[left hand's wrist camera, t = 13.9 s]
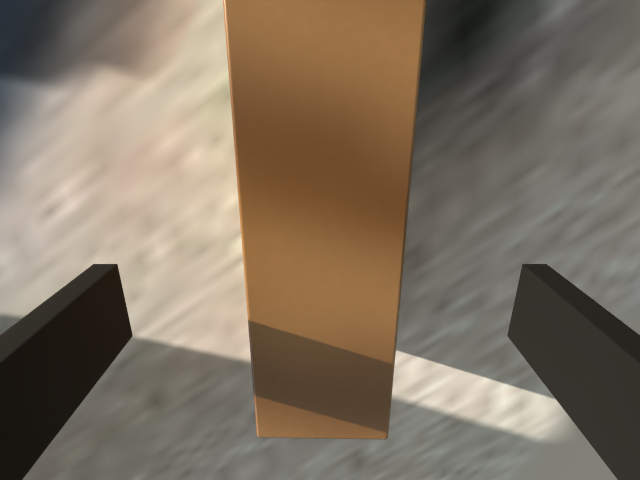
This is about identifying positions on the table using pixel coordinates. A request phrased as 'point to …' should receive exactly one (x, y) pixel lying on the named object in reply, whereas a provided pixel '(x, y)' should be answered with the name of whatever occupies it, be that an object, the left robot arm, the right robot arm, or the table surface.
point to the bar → (323, 203)
